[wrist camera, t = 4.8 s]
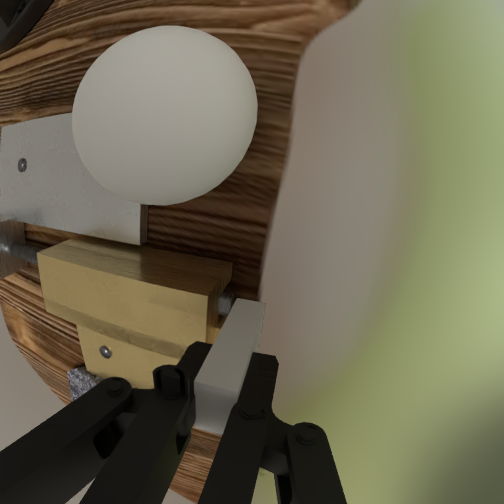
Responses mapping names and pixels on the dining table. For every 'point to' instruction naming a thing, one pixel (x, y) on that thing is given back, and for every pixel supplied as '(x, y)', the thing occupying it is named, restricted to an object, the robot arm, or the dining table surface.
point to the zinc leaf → (59, 195)
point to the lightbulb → (164, 115)
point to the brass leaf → (132, 303)
